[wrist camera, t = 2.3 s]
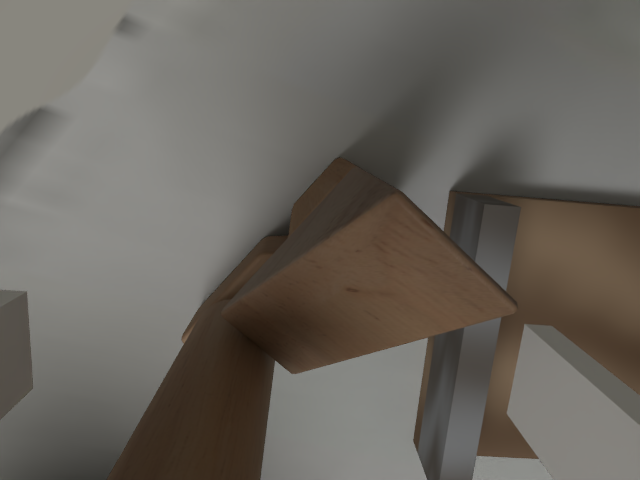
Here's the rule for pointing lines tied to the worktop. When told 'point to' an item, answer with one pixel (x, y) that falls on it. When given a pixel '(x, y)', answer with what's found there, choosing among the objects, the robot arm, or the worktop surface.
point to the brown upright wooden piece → (304, 321)
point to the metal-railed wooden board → (527, 316)
